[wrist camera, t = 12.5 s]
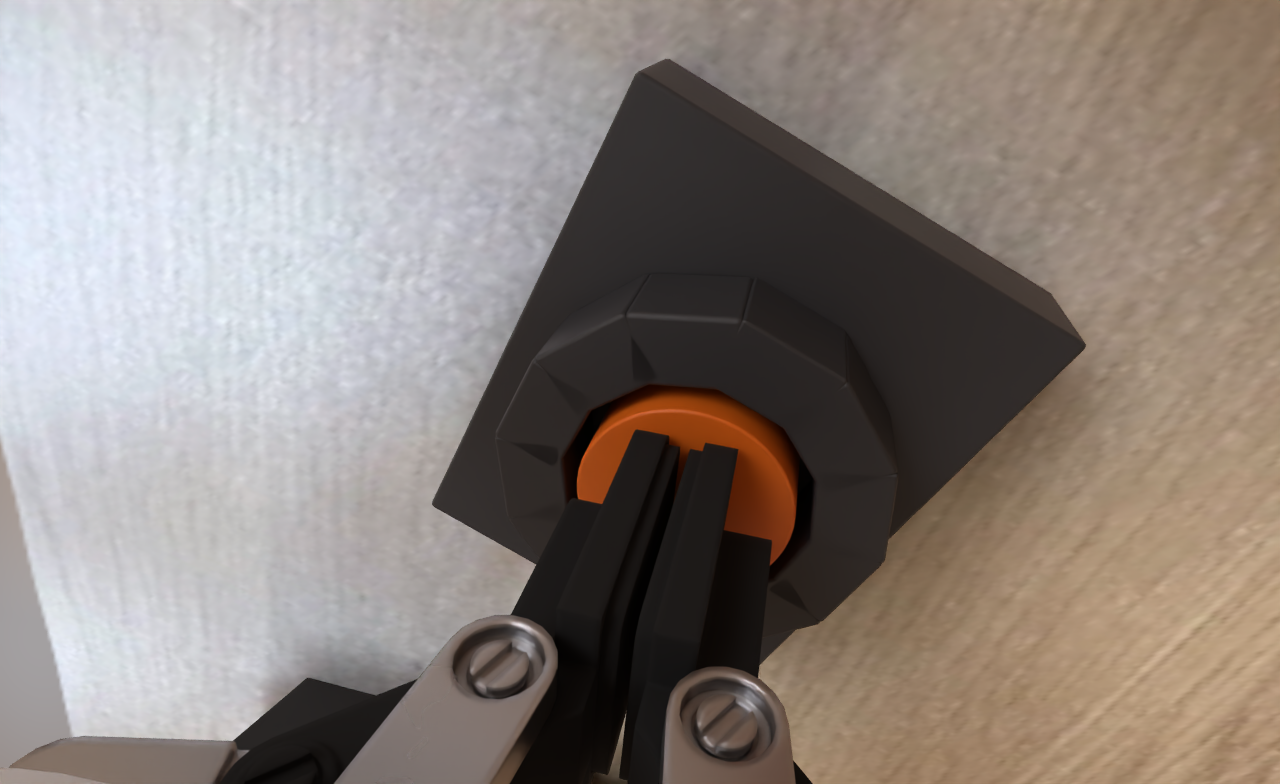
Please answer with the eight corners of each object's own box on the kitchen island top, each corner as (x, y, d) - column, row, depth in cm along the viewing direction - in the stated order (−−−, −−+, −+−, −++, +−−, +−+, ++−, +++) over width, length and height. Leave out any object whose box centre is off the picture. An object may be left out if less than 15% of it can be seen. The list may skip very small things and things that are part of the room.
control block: (666, 56, 13) (604, 84, 9) (1053, 294, 13) (1130, 404, 10) (471, 450, 18) (386, 561, 14) (752, 611, 18) (734, 755, 15)
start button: (660, 321, 12) (636, 368, 11) (841, 428, 12) (843, 489, 11) (572, 464, 14) (543, 521, 13) (732, 555, 14) (720, 622, 13)
